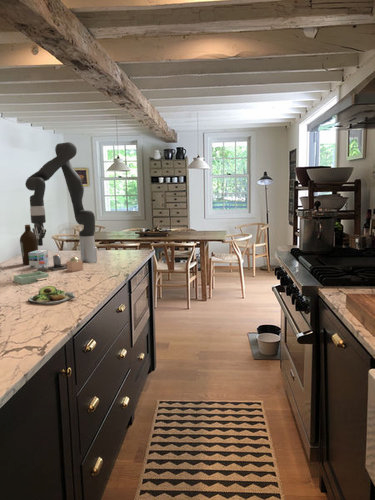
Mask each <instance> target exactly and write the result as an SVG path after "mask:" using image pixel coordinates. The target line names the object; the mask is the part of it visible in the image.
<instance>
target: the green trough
mask: <svg viewBox="0 0 375 500" xmlns="http://www.w3.org/2000/svg"><path fill="white" fill-rule="evenodd" d="M48 277H49V272H47V273H45V272H41V271H38V272H32V271H31V272H28V273H27V272H26V273H22V274H16V275H13V281H14V282H15V283H17V284H20V285H26V284H33V283H38V282H43V281H47V280H48V279H47V278H48ZM44 278H45V279H44ZM40 279H41V280H40Z"/></svg>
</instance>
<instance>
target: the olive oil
mask: <svg viewBox="0 0 375 500" xmlns="http://www.w3.org/2000/svg"><path fill="white" fill-rule="evenodd" d="M19 245H20V250H21V258H22V259H21V260H22V265H24V266H25V265H26V266H29V254H28V253H30V252H33V251H37V250H39V246H38V241H37V238H35V235H34V233H33V230H32V228H31V224H25V225H24V232H23V233H22V234H21V235H20V238H19Z"/></svg>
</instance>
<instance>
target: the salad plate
mask: <svg viewBox="0 0 375 500" xmlns="http://www.w3.org/2000/svg"><path fill="white" fill-rule="evenodd" d="M74 298H75V299H76V296H75V293H74V292H72V291H64V290H63V289H57V287H55V286H53V285H47V286H44V287H42V288H40V289H39V290H38V294H35V295H33V296H29V297H28V298H27V300H28V302H29V303H31V304H33V305H49V304H51V305H57V304H58V303H59V304H62V302H63V303H65V302H67V300H68V301H70V300H71V299H74ZM48 301H49V302H48Z"/></svg>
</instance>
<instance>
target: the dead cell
mask: <svg viewBox="0 0 375 500" xmlns="http://www.w3.org/2000/svg"><path fill="white" fill-rule="evenodd" d="M70 260H71V262H75V261H78V260H79V258H78V257H76V256H72V257H71V258H70Z"/></svg>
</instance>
